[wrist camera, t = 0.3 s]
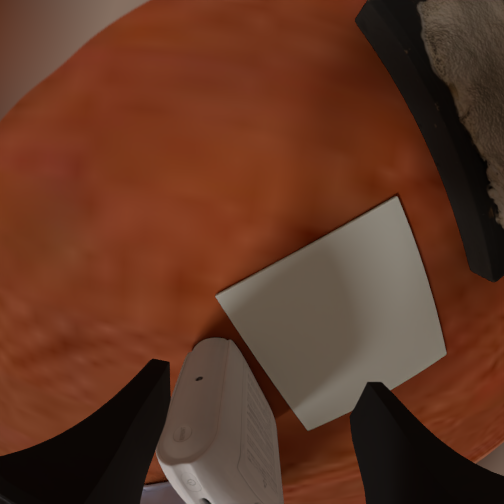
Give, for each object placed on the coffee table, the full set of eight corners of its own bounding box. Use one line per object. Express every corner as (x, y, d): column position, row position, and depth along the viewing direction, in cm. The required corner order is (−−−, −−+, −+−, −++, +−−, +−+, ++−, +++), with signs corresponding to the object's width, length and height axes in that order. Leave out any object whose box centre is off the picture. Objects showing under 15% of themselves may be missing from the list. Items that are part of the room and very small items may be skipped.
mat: (307, 428, 24) (307, 430, 24) (215, 294, 21) (215, 296, 20) (445, 352, 22) (446, 354, 22) (395, 196, 19) (397, 196, 19)
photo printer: (179, 344, 22) (129, 478, 10) (232, 326, 21) (218, 469, 9) (235, 434, 24) (230, 553, 12) (281, 421, 24) (296, 544, 12)
